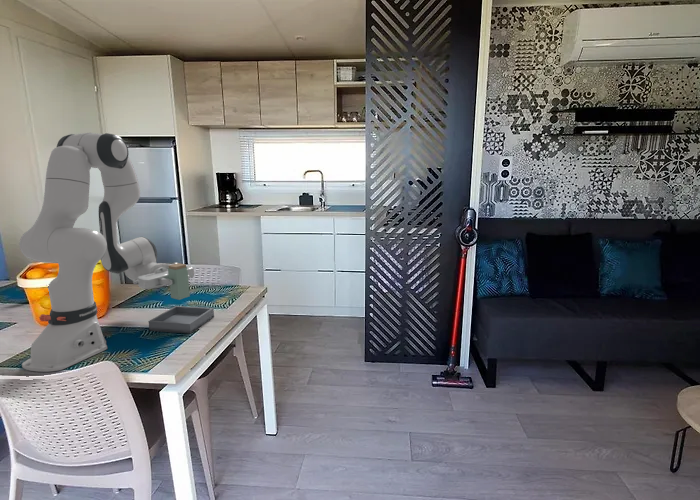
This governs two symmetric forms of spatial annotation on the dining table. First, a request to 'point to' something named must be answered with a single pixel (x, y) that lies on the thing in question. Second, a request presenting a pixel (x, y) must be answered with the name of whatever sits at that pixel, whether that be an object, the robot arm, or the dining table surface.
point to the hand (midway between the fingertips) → (180, 280)
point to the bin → (181, 319)
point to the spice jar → (179, 281)
